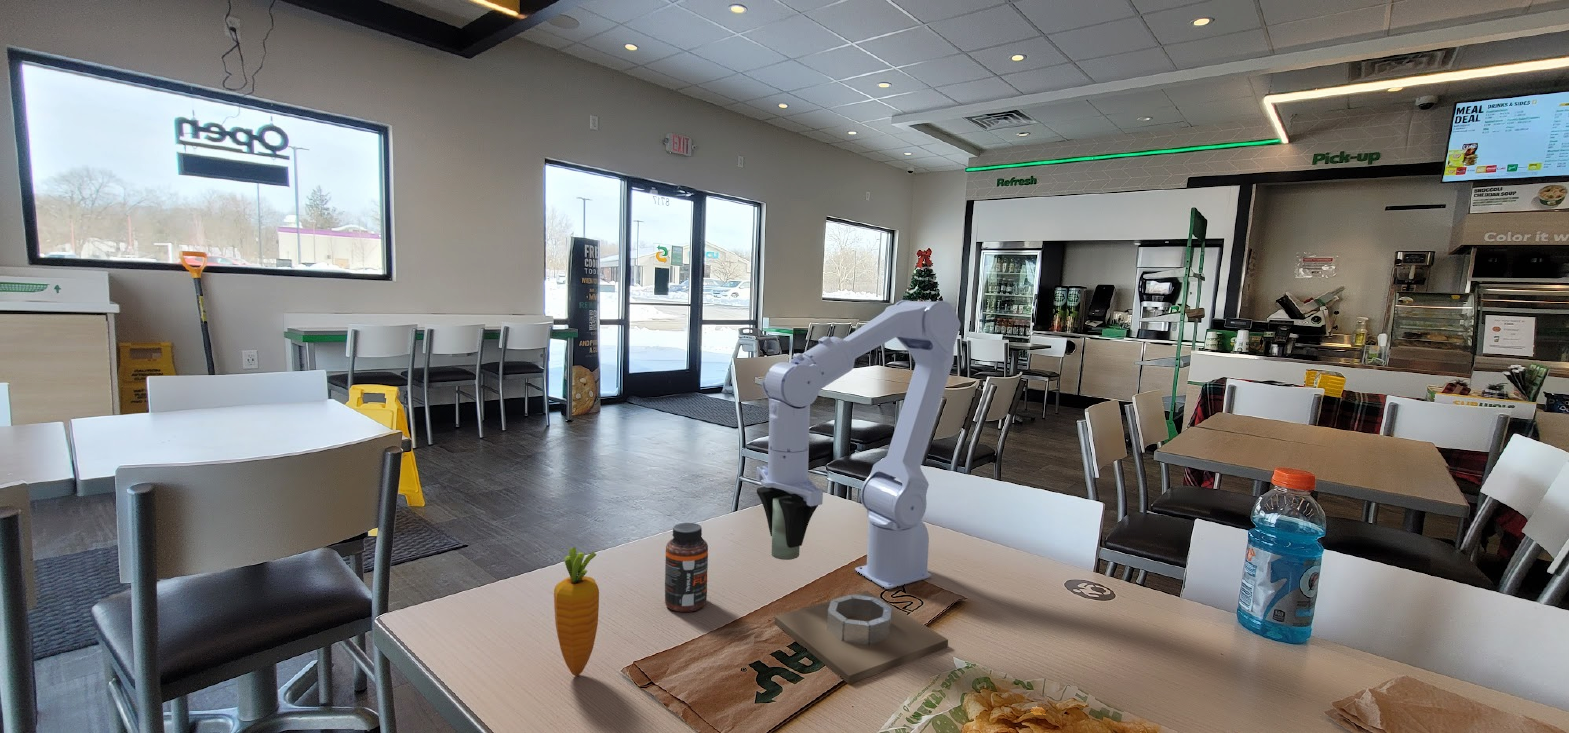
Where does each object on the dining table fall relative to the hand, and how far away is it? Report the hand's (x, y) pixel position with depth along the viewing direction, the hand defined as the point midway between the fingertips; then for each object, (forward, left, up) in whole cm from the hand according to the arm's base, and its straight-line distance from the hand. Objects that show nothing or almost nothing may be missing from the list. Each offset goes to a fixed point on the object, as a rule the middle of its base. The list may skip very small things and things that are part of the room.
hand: (786, 540), depth 93 cm
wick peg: (0, 0, -2) cm, 2 cm away
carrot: (+31, +4, -9) cm, 32 cm away
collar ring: (-3, +13, -9) cm, 16 cm away
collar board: (-3, +13, -9) cm, 16 cm away
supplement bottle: (+13, -6, -9) cm, 17 cm away
